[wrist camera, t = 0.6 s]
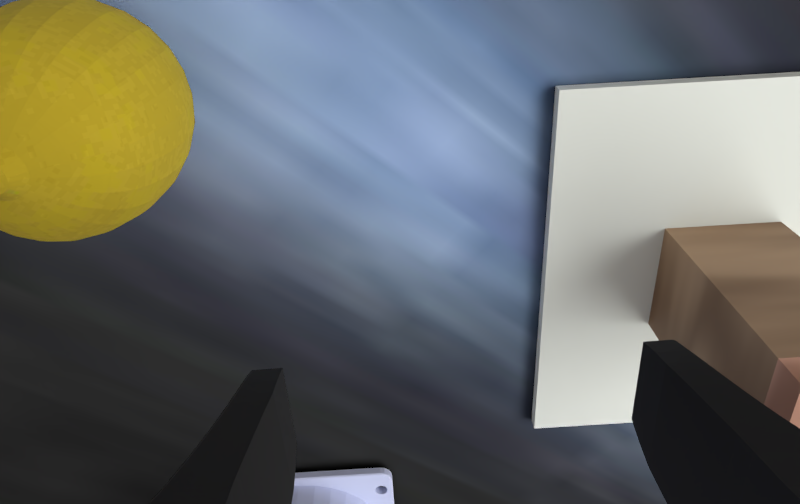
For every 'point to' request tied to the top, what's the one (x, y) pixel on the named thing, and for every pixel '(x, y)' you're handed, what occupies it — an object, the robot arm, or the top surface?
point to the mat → (645, 216)
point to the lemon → (85, 118)
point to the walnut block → (735, 305)
